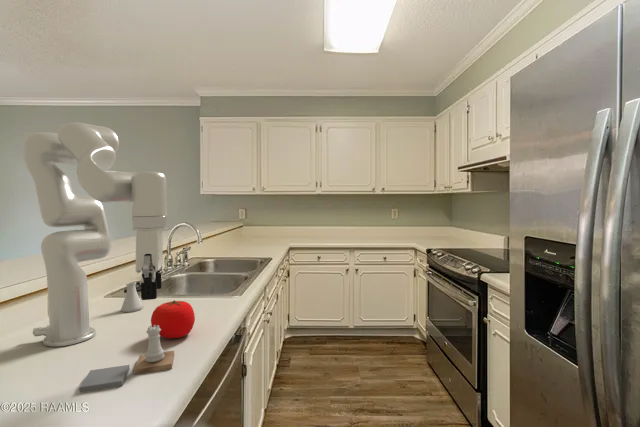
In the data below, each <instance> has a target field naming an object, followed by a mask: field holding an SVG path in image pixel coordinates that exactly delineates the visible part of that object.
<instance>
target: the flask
mask: <svg viewBox="0 0 640 427" xmlns="http://www.w3.org/2000/svg"><path fill="white" fill-rule="evenodd" d="M136 285H137V281H131V282H127V283H126V284H125V286H126V294H125V297H124V300H123V303H122V305H121V308H120V312H123V313H131V312H132V313H133V312H137V311H140V310H142V309H143V308H144V306H143V305H144V304H143V303H142V301H141V299H140V297H139V294H138V292H137V289H136V287H137V286H136Z"/></svg>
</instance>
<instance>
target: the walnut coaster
mask: <svg viewBox="0 0 640 427" xmlns="http://www.w3.org/2000/svg"><path fill="white" fill-rule="evenodd" d="M164 355H165V356H164V358H163V359H162V360H160V361H158V362H153V363H149V362H146V361H145V354H139V357H138V358H137V361H136V364H135V367H134V369H133V373H134V375H140V374H147V373H151V372H152V373H154V372H160V371H165V370H171V369H173V366H174V365H173V364H174V360H175V350H168V351H164Z"/></svg>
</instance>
